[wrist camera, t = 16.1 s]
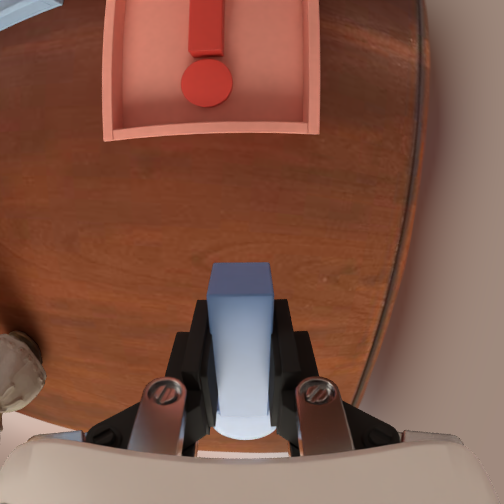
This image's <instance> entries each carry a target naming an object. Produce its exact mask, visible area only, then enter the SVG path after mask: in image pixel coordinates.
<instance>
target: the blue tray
mask: <svg viewBox="0 0 504 504" xmlns="http://www.w3.org/2000/svg"><path fill="white" fill-rule="evenodd" d="M61 5H63V0H0V31H2V30H4V29H6V28H8V27H10V26H12V25H14V24H16V23H18V22H21V21H23V20H25V19H28V18H30V17H32V16H35V15H37V14H40V13H42V12H45V11H47V10H50V9H53V8H56V7H58V6H61Z"/></svg>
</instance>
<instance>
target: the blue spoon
mask: <svg viewBox="0 0 504 504" xmlns="http://www.w3.org/2000/svg"><path fill="white" fill-rule="evenodd" d="M207 306H208V317H209V327H210V334H212V341H213V351H214V360H215V370H216V379H217V388H218V402H217V414H216V426H215V427H213V428H214V429H215V430H216V431H217V432H219V433H220V434H222V435H224V436H226V437H229V438H233V439H239V440H251V439H258V438H261V437H264V436H266V435H268V434H270V433H272V432H273V431H274V430H275V429H276V427H271V424H270V409H269V395H268V392H269V371H270V349H271V334H272V333H273V311H274V291H273V284H272V277H271V270H270V264H269V263H268V262H264V263H214V264H213V267H212V272H211V277H210V281H209V286H208V291H207Z"/></svg>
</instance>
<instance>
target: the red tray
mask: <svg viewBox="0 0 504 504" xmlns="http://www.w3.org/2000/svg"><path fill="white" fill-rule="evenodd" d="M189 3H190V0H107V1H106V11H105V23H104V38H103V62H102V110H103V136H104V142H106V141H114V140H123V139H133V138H143V137H155V136H168V135H184V134H205V133H297V134H317V135H318V134H319V126H320V23H319V0H225V15H224V56H223V57H204V58H193V57H192V55H191V54H190V53H189V52H188V30H189ZM201 59H215V60H218V61H220V62H222V63H223V64H225V65H226V66H227V67H228V69H229V70H230V72H231V75H232V78H233V89H232V92H231V94H230V96H229V97H228V98H227V100H226V101H224V102H223V103H222V104H220V105H218V106H215V107H211V108H204V107H199V106H196V105H194V104H192V103H190V102H189V101H188V100H187V99H186V98H185V96H184V95H183V93H182V90H181V78H182V75H183V73H184V71H185V70H186V69H187V67H188V66H190V65H191V64H192V63H194V62H196V61H198V60H201Z"/></svg>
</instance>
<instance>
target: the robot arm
mask: <svg viewBox="0 0 504 504" xmlns="http://www.w3.org/2000/svg"><path fill="white" fill-rule="evenodd" d="M268 395H269V409H270V424H271V427H276V430H277V434H279V435H280V436H282V437H283V438H285V439H286V440H288V454H289V457H285V458H261V459H224V458H201V457H197V452H198V440H199V439H201V438H202V437H204V436H205V435H206V434H208V435H210V427H215V426H216V414H217V402H218V388H217V379H216V370H215V360H214V351H213V341H212V334H210V327H209V317H208V306H207V300H197V303H196V307H195V311H194V316H193V320H192V324H191V328H190V332H177V334H176V337H175V341H174V345H173V348H172V352H171V355H170V359H169V363H168V367H167V370H166V374H165V377H160V378H157V379H154V380H152V381H151V382H149V383H148V384H147V385H146V387H145V389H144V391H143V394H142V397H141V401H140V402H138V403H137V404H135V405H133V406H131V407H129V408H127V409H125V410H124V411H122V412H120V413H118V414H116V415H114V416H112V417H110V418H108V419H106V420H104V421H102V422H100V423H98V424H96V425H95V426H93V427H92V428H91V429H90V430H89V431H88V432H86V433H83V431H82V430H79V431H71V432H61V433H52V434H40V435H35V436H33V437H31V438H30V439H29V440H28V441H27V442H26V443H23V444H21V445H19V446H18V447H16V448H15V449H14V450H13V451H12V452H11V454H10V455H9V456H8V458H7V459H6V461H5V463H4V464H3V466H2V468H1V470H0V504H500V501H499V499H498V496H497V494H496V492H495V489H494V487H493V485H492V483H491V481H490V478H489V476H488V474H487V473H486V471H485V469H484V467H483V466H482V464H481V462H480V461H479V459H478V458H477V457H476V455H475V454H474V453H473V452H472V451H471V450H470V449H469V448H467V447H466V446H464V444H463V443H462V441H461V440H460V438H458V437H457V436H455V435H451V434H439V433H428V432H418V431H409V430H404V432H403V433H401V432H397V431H396V429H395V428H394V427H392V426H391V425H389V424H387V423H385V422H383V421H381V420H379V419H377V418H375V417H373V416H371V415H369V414H367V413H365V412H363V411H361V410H359V409H357V408H356V407H354V406H352V405H350V404H348V403H346V402H344V401H342V399H341V395H340V392H339V389H338V387H337V385H336V384H335V383H334V382H333V381H331V380H329V379H327V378H324V377H319V374H318V370H317V366H316V362H315V357H314V353H313V349H312V345H311V341H310V337H309V334H308V332H307V331H295V332H293V327H292V321H291V316H290V311H289V306H288V301H287V299H277V300H274V311H273V333H272V334H271V349H270V371H269V392H268Z"/></svg>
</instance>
